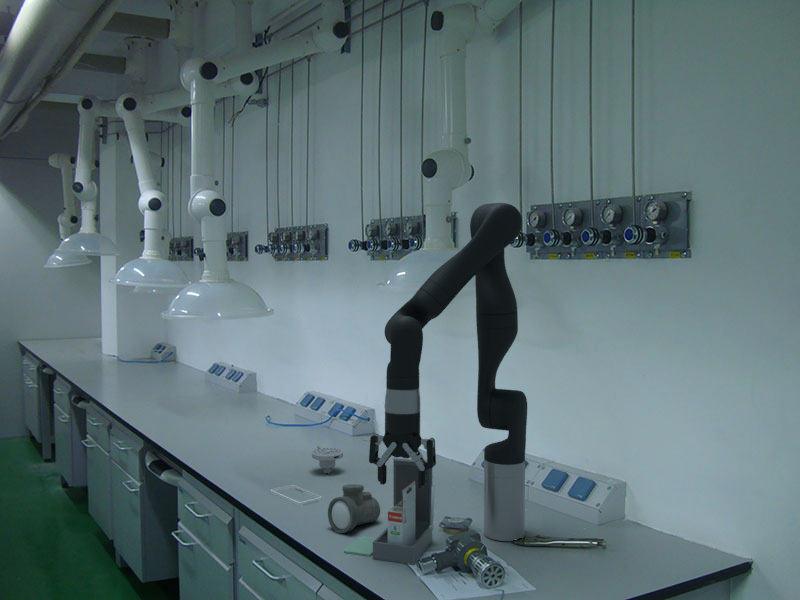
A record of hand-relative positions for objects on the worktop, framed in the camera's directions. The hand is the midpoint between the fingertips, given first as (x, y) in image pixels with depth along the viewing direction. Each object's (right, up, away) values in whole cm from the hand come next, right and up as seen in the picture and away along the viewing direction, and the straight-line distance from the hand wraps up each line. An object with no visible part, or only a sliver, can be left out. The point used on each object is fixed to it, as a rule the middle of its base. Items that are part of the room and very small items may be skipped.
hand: (402, 485), depth 144 cm
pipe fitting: (-11, -14, +16) cm, 24 cm away
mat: (-8, -14, +4) cm, 17 cm away
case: (+1, -14, +2) cm, 15 cm away
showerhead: (-23, -13, +61) cm, 67 cm away
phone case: (-29, -14, +39) cm, 50 cm away
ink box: (0, -15, +1) cm, 15 cm away
